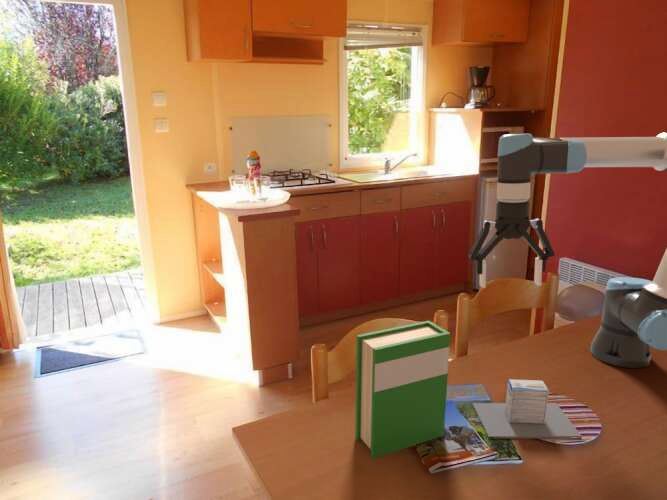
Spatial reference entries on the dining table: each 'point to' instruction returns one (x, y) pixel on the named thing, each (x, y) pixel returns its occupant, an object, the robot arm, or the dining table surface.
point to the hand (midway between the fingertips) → (509, 285)
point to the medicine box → (526, 401)
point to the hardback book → (401, 386)
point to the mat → (501, 427)
